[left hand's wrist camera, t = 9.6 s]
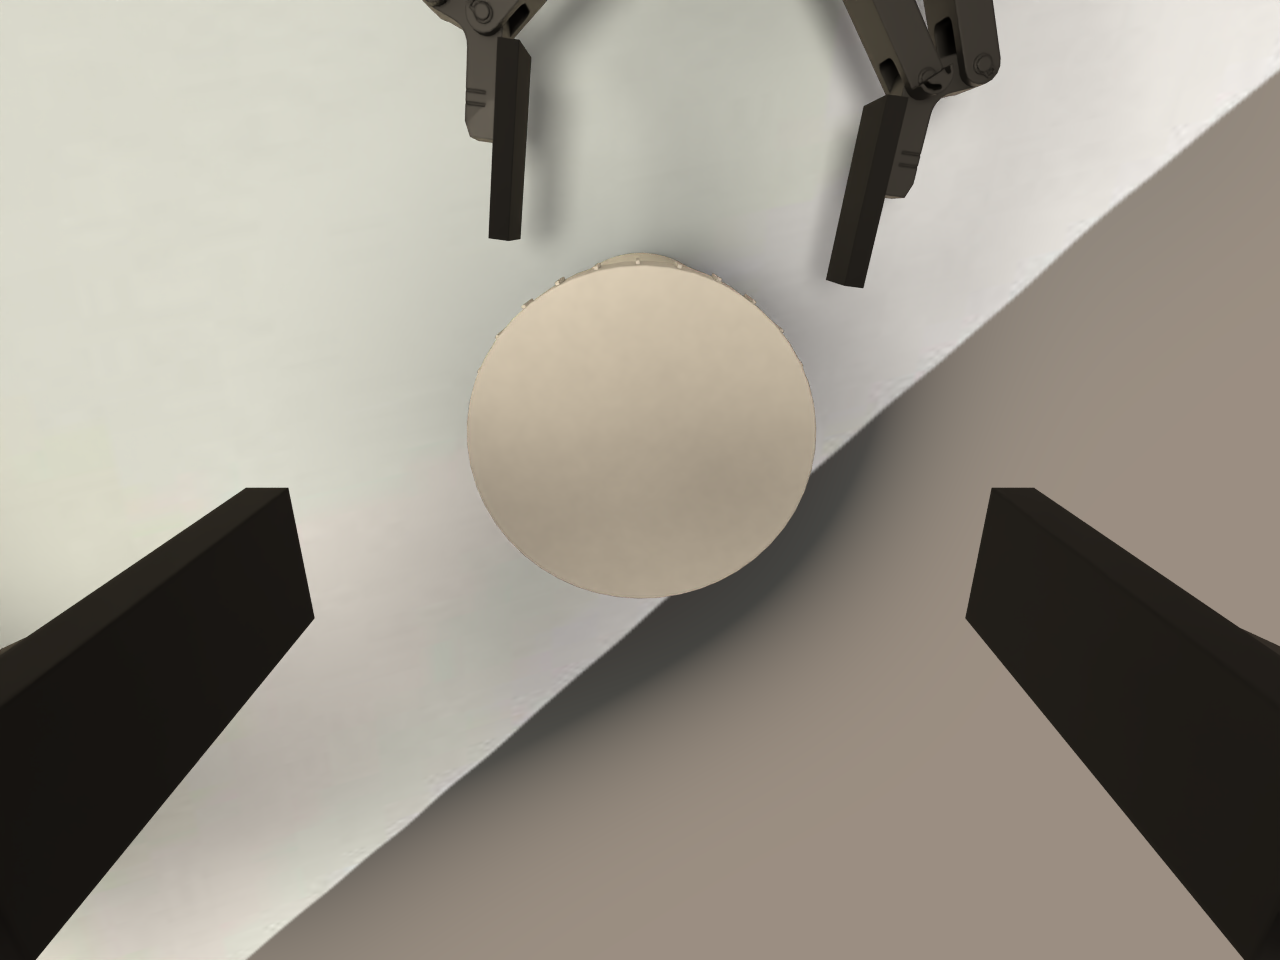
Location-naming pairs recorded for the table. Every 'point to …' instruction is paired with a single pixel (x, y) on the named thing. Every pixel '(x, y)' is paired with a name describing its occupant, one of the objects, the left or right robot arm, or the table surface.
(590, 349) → the lid
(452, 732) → the table surface
